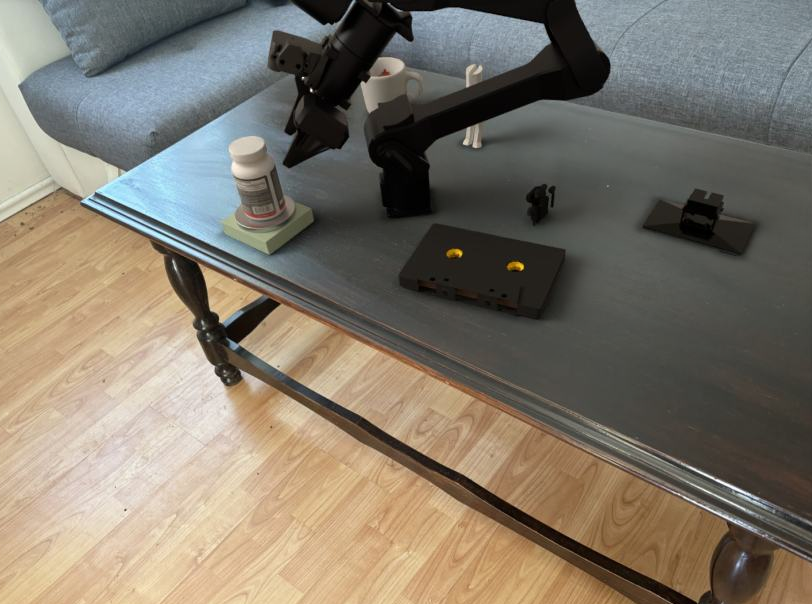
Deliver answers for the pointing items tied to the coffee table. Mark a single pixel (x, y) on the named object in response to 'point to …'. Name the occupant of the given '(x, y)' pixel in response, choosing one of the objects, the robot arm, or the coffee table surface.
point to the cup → (389, 82)
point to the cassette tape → (484, 270)
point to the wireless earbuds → (539, 202)
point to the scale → (268, 226)
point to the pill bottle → (256, 178)
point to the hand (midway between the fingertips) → (286, 149)
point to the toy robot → (471, 79)
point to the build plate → (700, 223)
